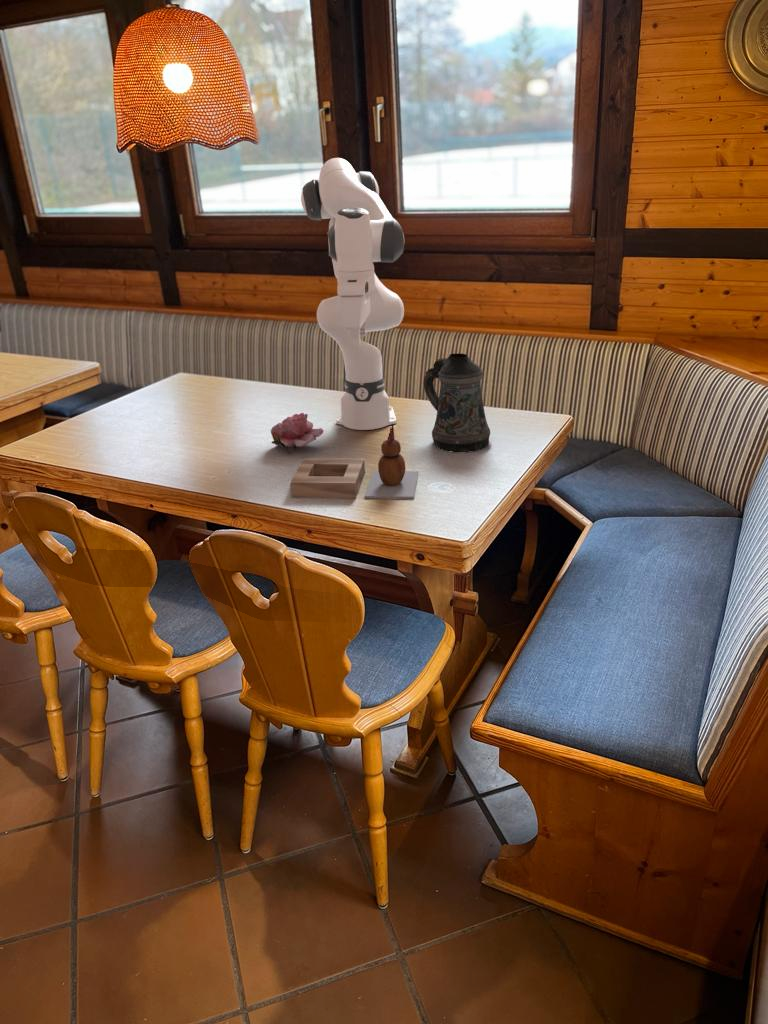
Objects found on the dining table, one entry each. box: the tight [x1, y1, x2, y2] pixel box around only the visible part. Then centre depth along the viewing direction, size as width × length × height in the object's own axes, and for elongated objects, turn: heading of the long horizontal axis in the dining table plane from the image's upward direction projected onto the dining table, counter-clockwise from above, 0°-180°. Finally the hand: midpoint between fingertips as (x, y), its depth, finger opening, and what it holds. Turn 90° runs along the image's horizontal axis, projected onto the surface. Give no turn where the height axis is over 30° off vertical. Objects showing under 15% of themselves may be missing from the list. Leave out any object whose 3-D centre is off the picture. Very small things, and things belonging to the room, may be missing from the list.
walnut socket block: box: [289, 457, 366, 499], centre depth 190 cm, size 16×16×4 cm
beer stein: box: [423, 352, 491, 453], centre depth 210 cm, size 16×19×25 cm
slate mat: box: [363, 470, 420, 500], centre depth 189 cm, size 16×12×1 cm
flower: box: [270, 412, 325, 454], centre depth 214 cm, size 15×15×10 cm
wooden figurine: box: [377, 424, 406, 486], centre depth 186 cm, size 7×6×15 cm
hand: (359, 340), depth 184 cm, fingers open, 8 cm apart
